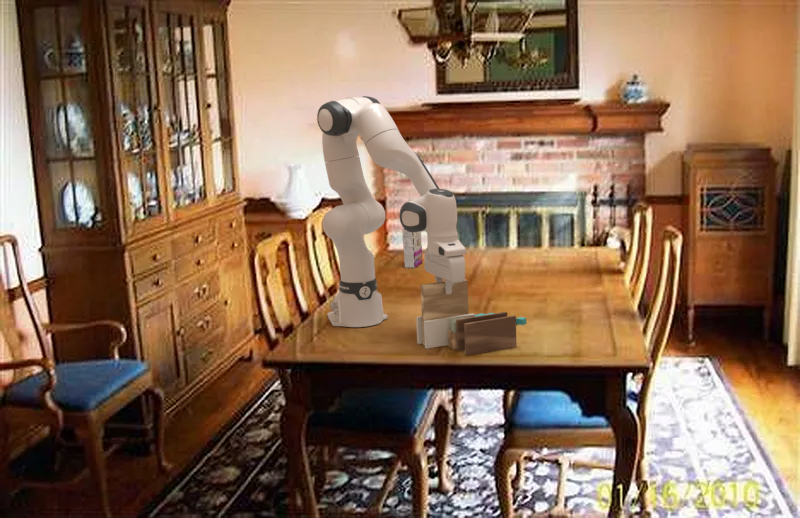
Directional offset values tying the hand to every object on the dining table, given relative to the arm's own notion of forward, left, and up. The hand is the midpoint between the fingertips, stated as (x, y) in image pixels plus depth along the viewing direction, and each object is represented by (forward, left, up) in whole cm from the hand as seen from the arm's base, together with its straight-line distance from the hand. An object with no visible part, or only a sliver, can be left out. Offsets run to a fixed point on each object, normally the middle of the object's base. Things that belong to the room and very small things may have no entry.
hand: (444, 292), depth 268 cm
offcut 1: (+7, +2, -10) cm, 12 cm away
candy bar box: (-108, +37, -15) cm, 115 cm away
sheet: (0, 0, -15) cm, 15 cm away
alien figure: (-9, +17, -16) cm, 25 cm away
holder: (0, 0, -15) cm, 15 cm away
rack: (+12, +7, -15) cm, 21 cm away
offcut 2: (+7, +2, -15) cm, 17 cm away
